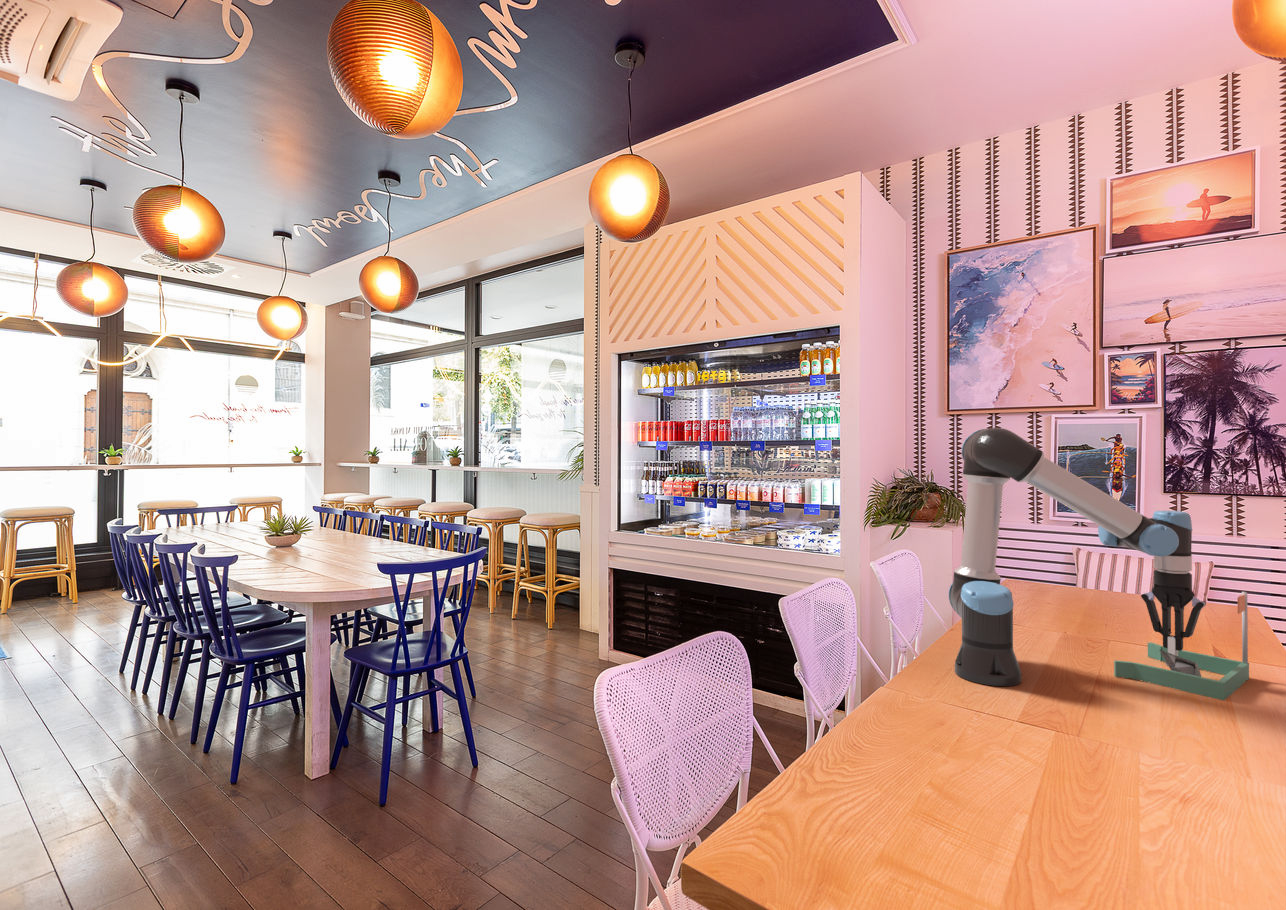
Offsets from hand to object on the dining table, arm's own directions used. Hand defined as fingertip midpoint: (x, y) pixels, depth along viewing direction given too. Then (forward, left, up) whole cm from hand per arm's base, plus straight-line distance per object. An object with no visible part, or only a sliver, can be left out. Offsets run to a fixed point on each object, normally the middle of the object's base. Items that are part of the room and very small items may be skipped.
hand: (1173, 661), depth 160 cm
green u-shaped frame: (+2, 0, -3) cm, 4 cm away
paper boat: (+2, -4, -4) cm, 6 cm away
